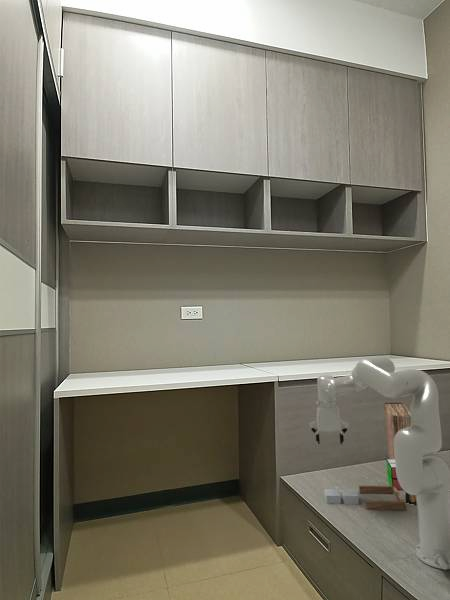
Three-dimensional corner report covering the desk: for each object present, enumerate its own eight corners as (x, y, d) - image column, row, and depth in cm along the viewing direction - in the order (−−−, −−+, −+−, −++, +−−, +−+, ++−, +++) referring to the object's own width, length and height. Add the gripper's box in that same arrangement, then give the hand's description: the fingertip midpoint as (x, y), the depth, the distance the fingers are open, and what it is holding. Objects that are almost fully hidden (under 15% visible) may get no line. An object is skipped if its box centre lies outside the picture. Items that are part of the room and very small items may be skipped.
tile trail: (341, 504, 159) (340, 495, 159) (326, 504, 160) (326, 495, 160) (338, 497, 165) (338, 489, 165) (324, 497, 166) (324, 489, 166)
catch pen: (405, 510, 151) (405, 502, 151) (366, 509, 153) (366, 501, 153) (395, 492, 166) (394, 485, 166) (359, 492, 168) (359, 485, 168)
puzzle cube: (416, 490, 166) (415, 467, 167) (392, 490, 168) (390, 467, 169) (410, 481, 176) (408, 459, 177) (387, 480, 178) (386, 459, 179)
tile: (359, 504, 158) (358, 496, 158) (344, 504, 159) (343, 495, 159) (357, 497, 164) (356, 489, 164) (342, 497, 165) (342, 489, 165)
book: (418, 479, 177) (413, 414, 179) (397, 478, 180) (392, 414, 181) (406, 458, 202) (402, 402, 204) (388, 458, 204) (384, 402, 206)
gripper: (307, 406, 164) (310, 445, 164) (348, 406, 161) (351, 446, 161) (307, 402, 172) (309, 439, 171) (346, 401, 169) (349, 440, 168)
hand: (329, 443), depth 166 cm, fingers open, 9 cm apart
